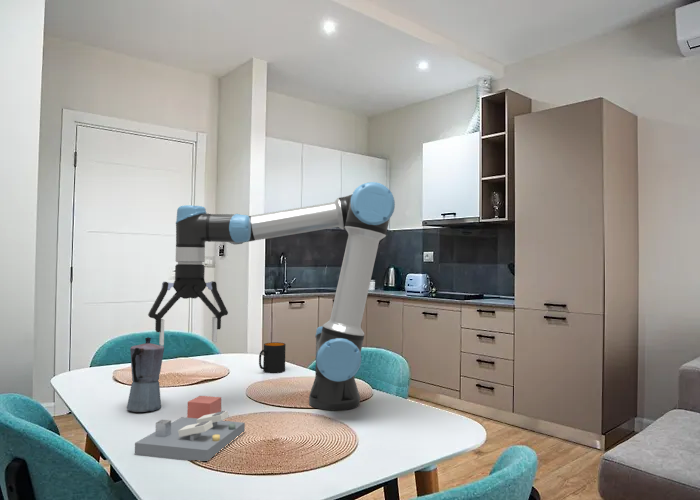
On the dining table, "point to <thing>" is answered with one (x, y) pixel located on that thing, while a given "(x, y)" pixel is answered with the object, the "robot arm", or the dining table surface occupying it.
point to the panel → (190, 441)
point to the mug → (273, 358)
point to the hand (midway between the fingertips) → (188, 343)
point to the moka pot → (145, 377)
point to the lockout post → (163, 428)
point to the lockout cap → (203, 406)
